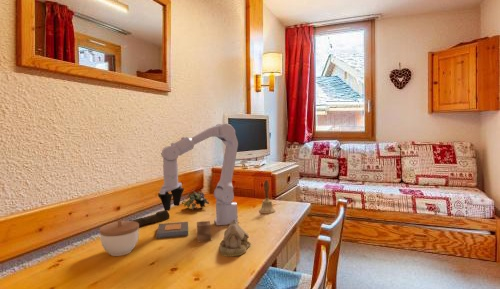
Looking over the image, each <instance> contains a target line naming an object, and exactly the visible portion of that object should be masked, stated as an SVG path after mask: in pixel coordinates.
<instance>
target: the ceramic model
mask: <svg viewBox="0 0 500 289" xmlns="http://www.w3.org/2000/svg"><path fill="white" fill-rule="evenodd" d="M228 225H229V226H228V227H227V228H226V229H225V230H224V233H223V239H222V240H221V242H220V243H219V252H220V254H221V255H222V256H224V257H237V256H240V255H243V254H245V253H247V250H248V249H249V247H251V245H252V244H251V241H248V239H249V238H250V235H249V234H248V233H247V232H246V231H245V230H244V228H242V227H241V226H240V225H239V223H236V220H233V221H232V223H231V224H228Z"/></svg>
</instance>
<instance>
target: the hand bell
mask: <svg viewBox="0 0 500 289" xmlns="http://www.w3.org/2000/svg"><path fill="white" fill-rule="evenodd" d="M263 190H264V194H265V195H264V196H265V198H264V200H262V203H261V204H262V205H261V207H260V209H259V210H258V213H260V214H264V215H265V214H274V213H275V212H276V209H275V208H274V207H273V204H272V200H271V199H270V197H269V190H270V183H269V180H268V179H264V184H263Z"/></svg>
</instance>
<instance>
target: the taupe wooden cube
mask: <svg viewBox="0 0 500 289" xmlns="http://www.w3.org/2000/svg"><path fill="white" fill-rule="evenodd" d="M211 227H212V225H211V221H210V220H208V221H207V220H206V221H197V222H196V236H197V237H196V238H197V242H198V243H200V242H209V241H212V228H211Z"/></svg>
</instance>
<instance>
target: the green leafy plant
mask: <svg viewBox="0 0 500 289" xmlns="http://www.w3.org/2000/svg"><path fill="white" fill-rule="evenodd" d="M205 195H206V194H205V193H204V192H201V191H197V192H196V191H193V192H192V193H188V196H189V200H187V201H186V200H182V202H181V204H182V205H184V207H188V208H187V209H189V208H190V206H191V211H193V210H194V208H195V207H196V205H199V206H200V208H201V207H203V208H206V205H207V204H208V205H209V204H210V201H208V198H206V196H205ZM194 201H195V202H194ZM205 204H206V205H205Z"/></svg>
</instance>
